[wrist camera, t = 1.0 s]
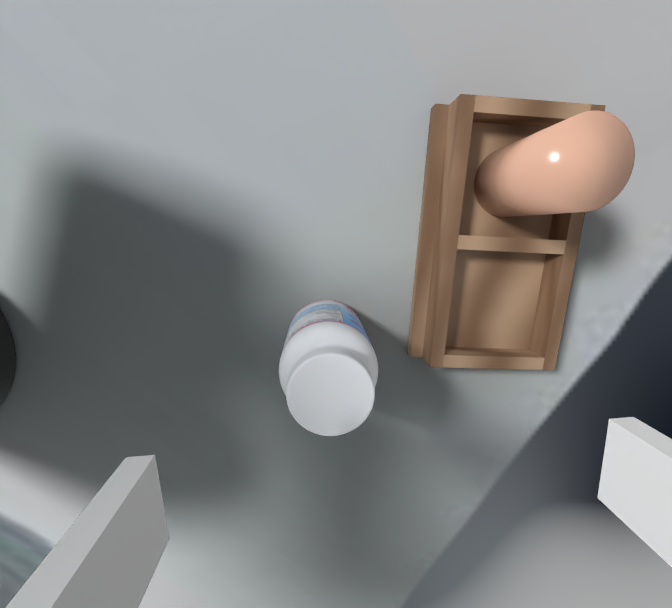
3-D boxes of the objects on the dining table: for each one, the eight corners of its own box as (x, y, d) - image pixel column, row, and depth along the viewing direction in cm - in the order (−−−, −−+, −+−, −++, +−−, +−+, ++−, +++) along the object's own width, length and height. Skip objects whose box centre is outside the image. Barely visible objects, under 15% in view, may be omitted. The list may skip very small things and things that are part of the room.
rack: (407, 353, 29) (417, 366, 26) (431, 108, 26) (445, 92, 23) (542, 356, 30) (566, 370, 27) (585, 120, 26) (619, 106, 23)
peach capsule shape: (469, 215, 26) (534, 209, 18) (478, 145, 25) (551, 107, 17) (533, 219, 27) (622, 214, 19) (544, 149, 26) (644, 114, 18)
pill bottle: (367, 361, 29) (397, 439, 18) (296, 373, 29) (283, 459, 18) (356, 291, 28) (382, 331, 17) (282, 304, 28) (260, 352, 17)
